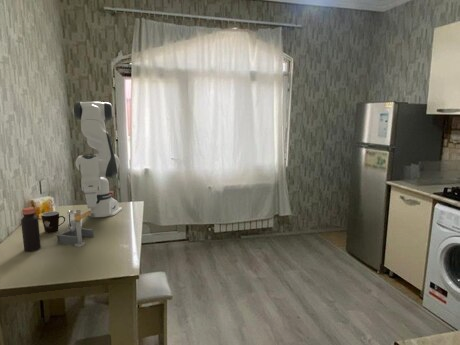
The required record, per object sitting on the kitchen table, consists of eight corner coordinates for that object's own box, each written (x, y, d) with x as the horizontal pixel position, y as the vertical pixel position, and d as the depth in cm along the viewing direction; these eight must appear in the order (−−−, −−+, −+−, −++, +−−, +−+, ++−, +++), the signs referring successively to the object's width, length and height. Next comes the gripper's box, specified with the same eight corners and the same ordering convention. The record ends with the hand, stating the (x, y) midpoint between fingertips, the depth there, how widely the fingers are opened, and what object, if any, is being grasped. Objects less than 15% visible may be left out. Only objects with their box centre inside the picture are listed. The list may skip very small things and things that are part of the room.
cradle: (74, 234, 169) (72, 212, 167) (97, 237, 166) (96, 214, 164) (55, 243, 157) (53, 219, 154) (80, 246, 154) (78, 222, 151)
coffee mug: (39, 232, 172) (37, 214, 171) (54, 227, 180) (52, 210, 178) (52, 236, 167) (51, 217, 165) (67, 231, 174) (66, 213, 173)
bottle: (20, 250, 149) (16, 209, 145) (34, 245, 155) (30, 205, 151) (30, 253, 146) (25, 211, 143) (44, 247, 152) (40, 207, 149)
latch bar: (79, 226, 152) (78, 218, 151) (73, 225, 152) (73, 218, 152) (96, 216, 167) (95, 209, 166) (91, 216, 167) (90, 209, 166)
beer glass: (65, 241, 159) (63, 213, 157) (74, 236, 166) (72, 209, 164) (78, 242, 158) (76, 213, 156) (86, 237, 165) (84, 209, 163)
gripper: (85, 183, 169) (86, 208, 171) (83, 190, 150) (85, 218, 152) (97, 182, 171) (99, 207, 173) (97, 189, 152) (99, 217, 154)
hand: (92, 212), depth 162 cm, fingers closed
